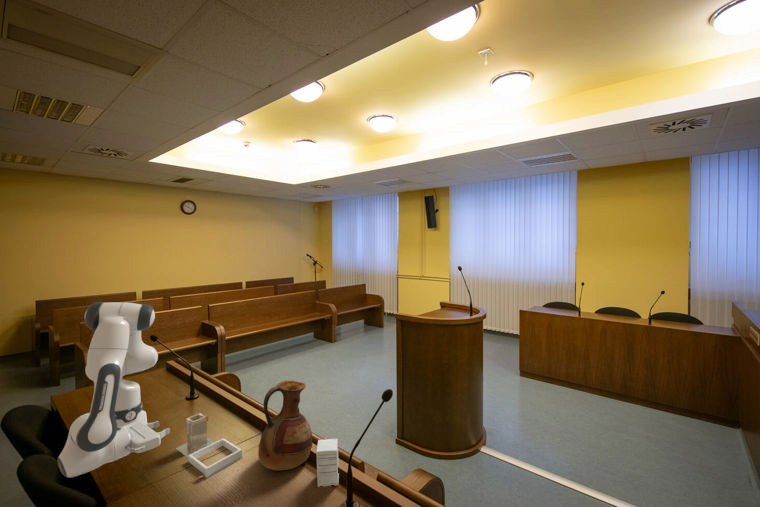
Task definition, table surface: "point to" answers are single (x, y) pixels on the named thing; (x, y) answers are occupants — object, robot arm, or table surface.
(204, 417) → the sleeve
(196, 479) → the table surface
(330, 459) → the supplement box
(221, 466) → the rectangular frame
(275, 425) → the ceramic pitcher
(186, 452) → the base plate with pin
